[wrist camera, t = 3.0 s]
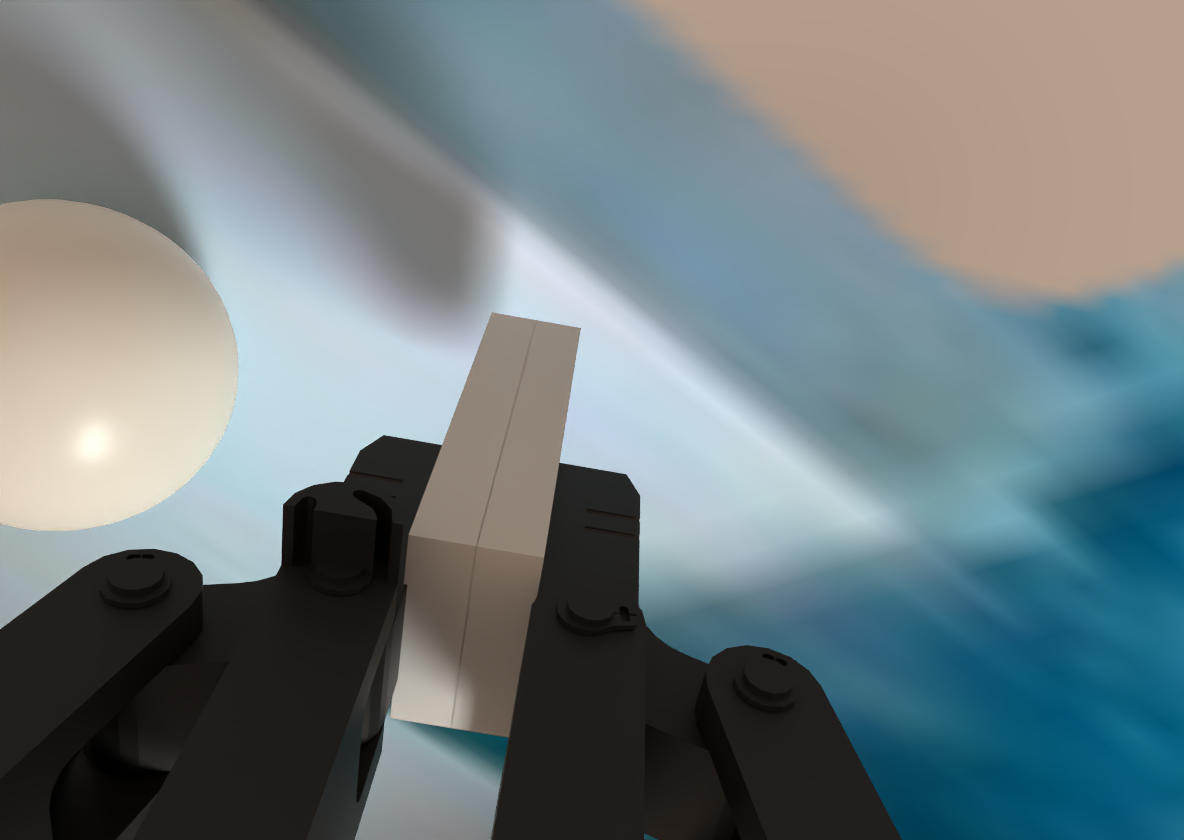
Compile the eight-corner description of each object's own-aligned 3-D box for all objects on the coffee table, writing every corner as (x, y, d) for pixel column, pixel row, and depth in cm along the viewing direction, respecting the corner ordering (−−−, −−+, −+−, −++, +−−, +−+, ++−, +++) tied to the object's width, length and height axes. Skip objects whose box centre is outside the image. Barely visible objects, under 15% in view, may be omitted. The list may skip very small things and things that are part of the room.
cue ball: (320, 411, 20) (213, 572, 15) (71, 454, 21) (-105, 620, 16) (219, 136, 18) (55, 224, 13) (-57, 196, 19) (-311, 299, 14)
